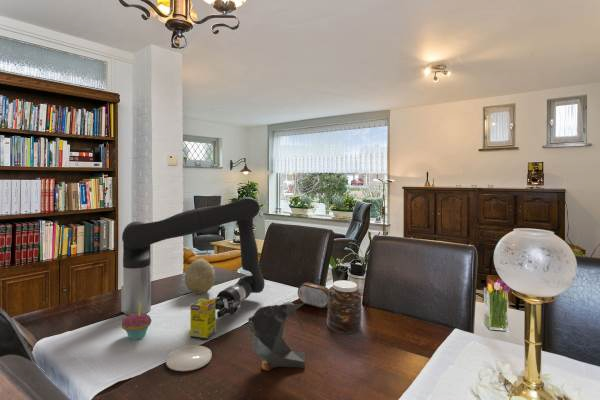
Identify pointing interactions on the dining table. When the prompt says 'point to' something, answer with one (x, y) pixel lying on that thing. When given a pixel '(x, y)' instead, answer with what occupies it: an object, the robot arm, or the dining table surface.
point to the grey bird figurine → (274, 336)
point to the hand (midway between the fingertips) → (206, 313)
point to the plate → (188, 358)
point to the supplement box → (202, 319)
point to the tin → (313, 295)
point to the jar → (344, 307)
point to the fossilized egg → (199, 276)
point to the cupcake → (136, 324)
